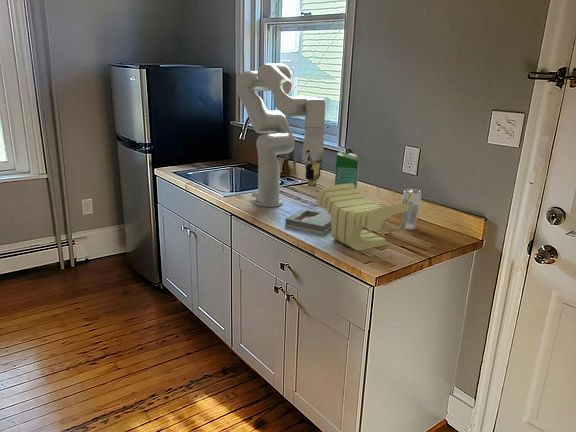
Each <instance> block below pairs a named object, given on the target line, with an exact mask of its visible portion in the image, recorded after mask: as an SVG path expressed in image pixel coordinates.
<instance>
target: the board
mask: <svg viewBox="0 0 576 432" xmlns="http://www.w3.org/2000/svg"><path fill="white" fill-rule="evenodd" d="M284 220H285V222H284V223H285V224H284V225H285V226H284V227H286V226H287V227H288V228H292V229H295V230H296V229H297V230H300V231H305V232H308V233H309V232H310V233H315V234H319V235H323V234H325V233H326V232H329V231H330V230H332V228H331V219H330V214H329V213H328V212H323V211H318V210H313V209H307V208H304V209H302V210H300V211H297V212H296V213H294V214H292V215H289V216H287V217H286V218H285V219H284Z"/></svg>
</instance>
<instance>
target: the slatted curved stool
mask: <svg viewBox="0 0 576 432" xmlns="http://www.w3.org/2000/svg"><path fill="white" fill-rule="evenodd" d="M316 201H317V203H316V204H317V205H316V207H318V208H322V209H324V210H326V212H327V213H329V214H330V219H331V236H332V238H333V239H334V240H336V241H338V242H340V243H341V244H343V245H346V246H347V247H349V248H352V249H353V250H355V251H363V250H369V249H373V248H378V247H382V246H387V242H386V238H384V237H382V236H379V235H378V234H375V233H373V232H374V231H379V230H382V229H381V228H382V226H383V224H384V222H385V221H386V219H388V218H390V217H392V216H394V215H397V214H400V213H403V212H405V211H408V209H409V203H405V204H402V203H401V204H393V205H387V206H382V205H380V204H376V203H374V202H373V201H371V200H370V199H368V198H367V197H365V195H364V194H363V193H361V191H360V190H359V189H358V188H357V189H355V185H354V184H353V183H348V184H339V185H335V184H331V185H325V186H323V187H322V188H320V190H319V191H318V194H317V200H316ZM364 228H366V229H364Z"/></svg>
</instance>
